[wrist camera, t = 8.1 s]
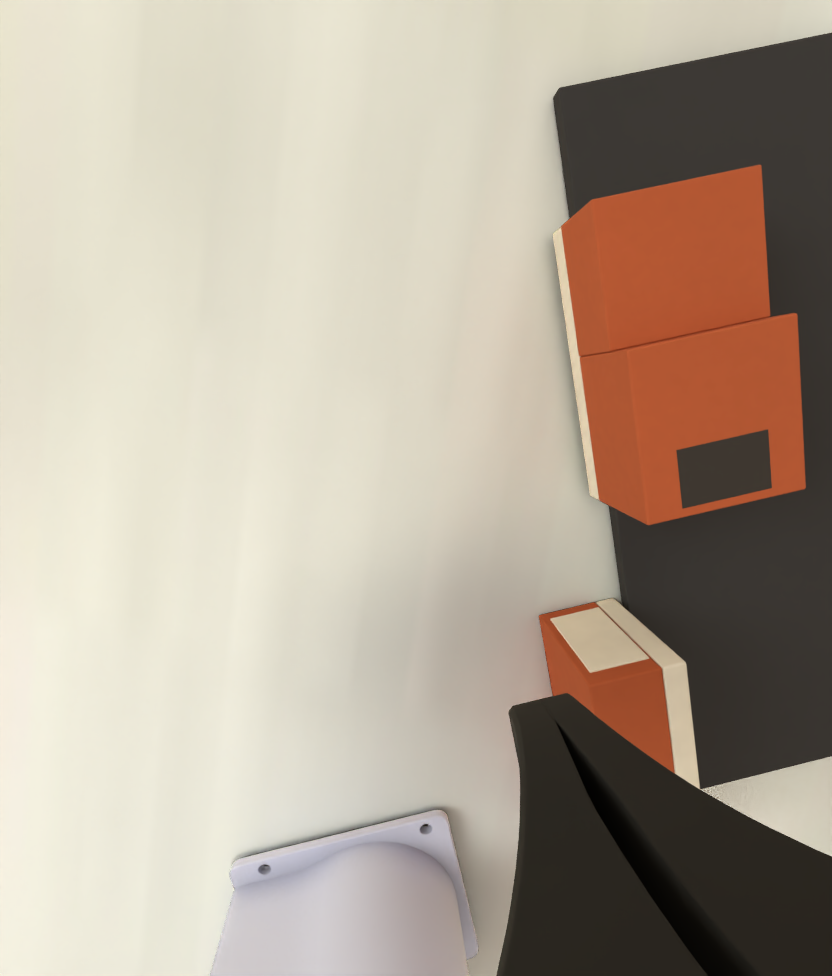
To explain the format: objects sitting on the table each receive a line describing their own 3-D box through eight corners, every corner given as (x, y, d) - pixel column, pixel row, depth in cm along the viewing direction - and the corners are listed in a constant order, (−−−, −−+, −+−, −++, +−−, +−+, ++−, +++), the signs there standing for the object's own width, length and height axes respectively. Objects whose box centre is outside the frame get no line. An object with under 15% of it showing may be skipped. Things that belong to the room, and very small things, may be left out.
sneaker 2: (647, 526, 15) (808, 489, 15) (606, 182, 13) (792, 143, 13) (589, 496, 19) (716, 467, 19) (551, 231, 17) (693, 201, 17)
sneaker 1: (549, 809, 22) (598, 928, 18) (513, 618, 20) (557, 692, 16) (639, 786, 23) (713, 898, 18) (613, 595, 21) (688, 661, 16)
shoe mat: (647, 790, 23) (655, 802, 22) (552, 97, 17) (559, 85, 16) (877, 733, 23) (892, 742, 22) (863, 34, 17) (881, 20, 17)
